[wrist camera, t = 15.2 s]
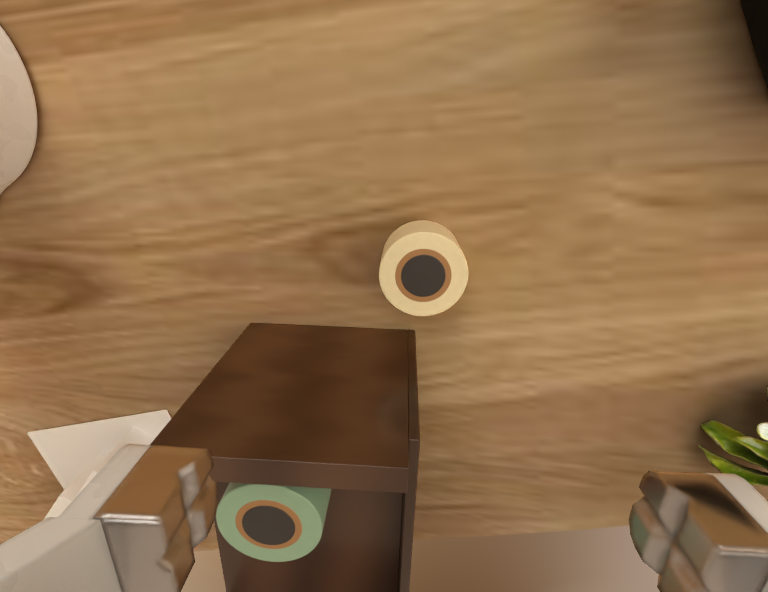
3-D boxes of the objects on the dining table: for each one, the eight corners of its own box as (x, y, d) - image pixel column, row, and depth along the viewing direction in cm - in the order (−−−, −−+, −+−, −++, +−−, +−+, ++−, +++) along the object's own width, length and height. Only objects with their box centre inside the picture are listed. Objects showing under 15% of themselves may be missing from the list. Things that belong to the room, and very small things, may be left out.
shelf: (269, 504, 41) (199, 691, 27) (250, 322, 34) (142, 453, 20) (404, 512, 41) (403, 708, 27) (414, 330, 33) (421, 469, 20)
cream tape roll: (381, 294, 32) (377, 315, 29) (382, 218, 30) (379, 230, 26) (457, 297, 32) (464, 319, 28) (464, 221, 30) (473, 233, 26)
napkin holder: (82, 517, 43) (37, 571, 38) (25, 432, 40) (-35, 478, 34) (212, 499, 42) (183, 552, 36) (165, 407, 38) (126, 452, 32)
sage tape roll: (246, 502, 28) (221, 560, 24) (237, 430, 26) (208, 481, 22) (334, 507, 28) (323, 567, 24) (333, 435, 25) (320, 488, 22)
